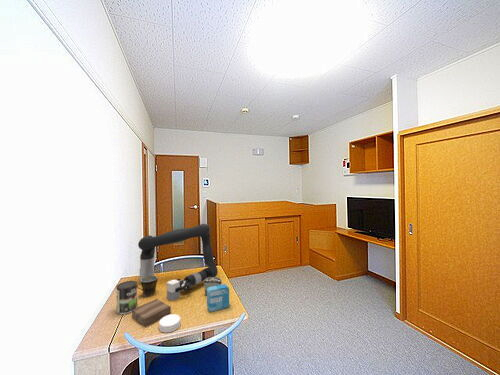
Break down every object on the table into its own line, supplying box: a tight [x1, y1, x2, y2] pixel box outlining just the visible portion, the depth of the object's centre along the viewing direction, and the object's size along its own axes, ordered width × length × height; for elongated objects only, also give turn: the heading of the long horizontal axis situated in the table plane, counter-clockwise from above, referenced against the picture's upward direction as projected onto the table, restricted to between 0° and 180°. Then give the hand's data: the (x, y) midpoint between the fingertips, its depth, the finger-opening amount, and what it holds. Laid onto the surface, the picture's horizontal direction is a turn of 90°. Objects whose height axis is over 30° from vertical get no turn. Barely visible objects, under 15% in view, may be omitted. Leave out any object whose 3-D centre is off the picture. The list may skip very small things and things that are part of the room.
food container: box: [202, 276, 223, 297], centre depth 140 cm, size 12×6×10 cm, turn 84°
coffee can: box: [115, 280, 138, 315], centre depth 123 cm, size 10×10×14 cm
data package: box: [206, 283, 230, 313], centre depth 123 cm, size 12×4×12 cm, turn 115°
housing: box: [166, 279, 181, 302], centre depth 135 cm, size 6×6×10 cm
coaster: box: [158, 313, 182, 333], centre depth 108 cm, size 10×10×4 cm
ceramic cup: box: [137, 275, 158, 298], centre depth 139 cm, size 13×10×10 cm
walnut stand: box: [131, 298, 172, 328], centre depth 117 cm, size 14×14×4 cm
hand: (171, 288), depth 135 cm, fingers open, 8 cm apart
